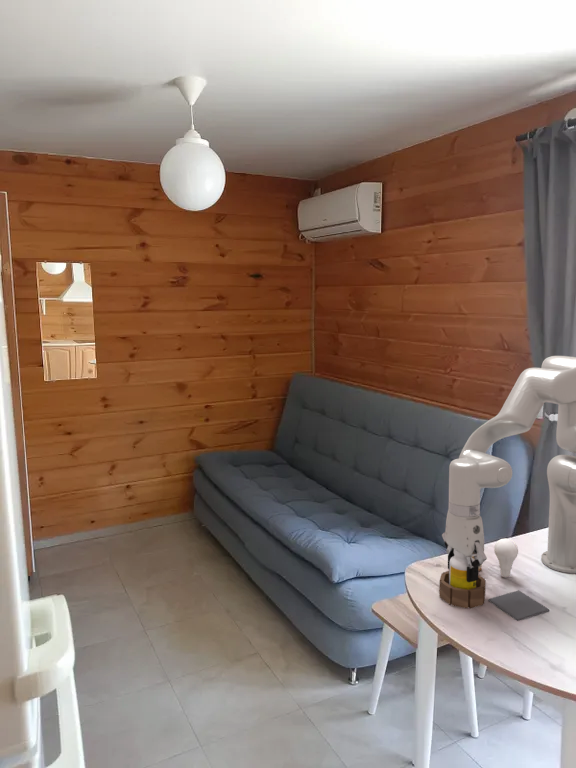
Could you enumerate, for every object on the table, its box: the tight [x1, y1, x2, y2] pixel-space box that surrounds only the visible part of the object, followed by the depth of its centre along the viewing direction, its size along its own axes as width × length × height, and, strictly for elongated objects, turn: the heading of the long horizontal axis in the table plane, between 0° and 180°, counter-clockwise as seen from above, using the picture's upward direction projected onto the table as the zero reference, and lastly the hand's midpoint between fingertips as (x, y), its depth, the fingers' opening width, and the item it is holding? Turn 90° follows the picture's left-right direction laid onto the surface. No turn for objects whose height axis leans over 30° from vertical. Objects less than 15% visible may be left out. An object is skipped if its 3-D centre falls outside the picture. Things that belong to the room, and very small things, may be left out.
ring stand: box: [438, 570, 487, 609], centre depth 149 cm, size 11×11×4 cm
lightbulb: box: [493, 538, 519, 579], centre depth 157 cm, size 6×6×11 cm
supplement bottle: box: [448, 549, 476, 590], centre depth 148 cm, size 7×7×13 cm
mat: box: [488, 589, 550, 622], centre depth 144 cm, size 10×10×1 cm
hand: (462, 573), depth 148 cm, fingers closed on supplement bottle, 6 cm apart
